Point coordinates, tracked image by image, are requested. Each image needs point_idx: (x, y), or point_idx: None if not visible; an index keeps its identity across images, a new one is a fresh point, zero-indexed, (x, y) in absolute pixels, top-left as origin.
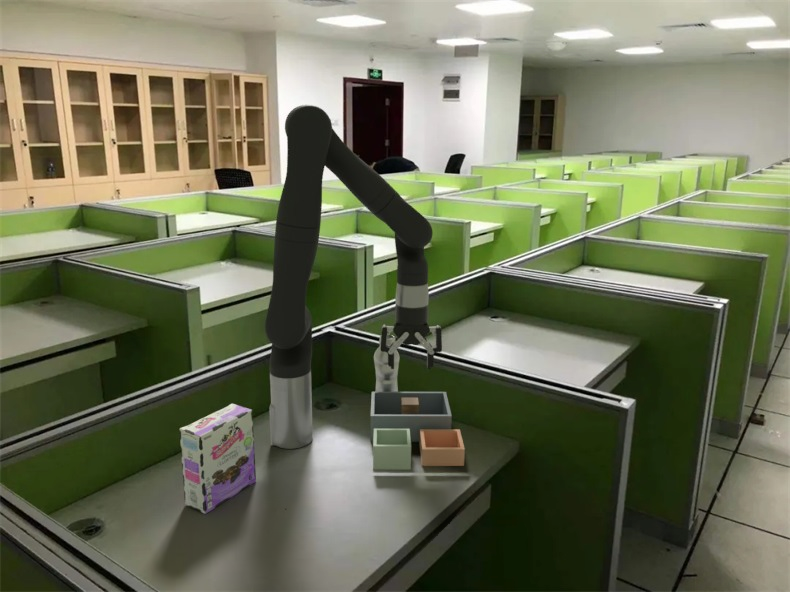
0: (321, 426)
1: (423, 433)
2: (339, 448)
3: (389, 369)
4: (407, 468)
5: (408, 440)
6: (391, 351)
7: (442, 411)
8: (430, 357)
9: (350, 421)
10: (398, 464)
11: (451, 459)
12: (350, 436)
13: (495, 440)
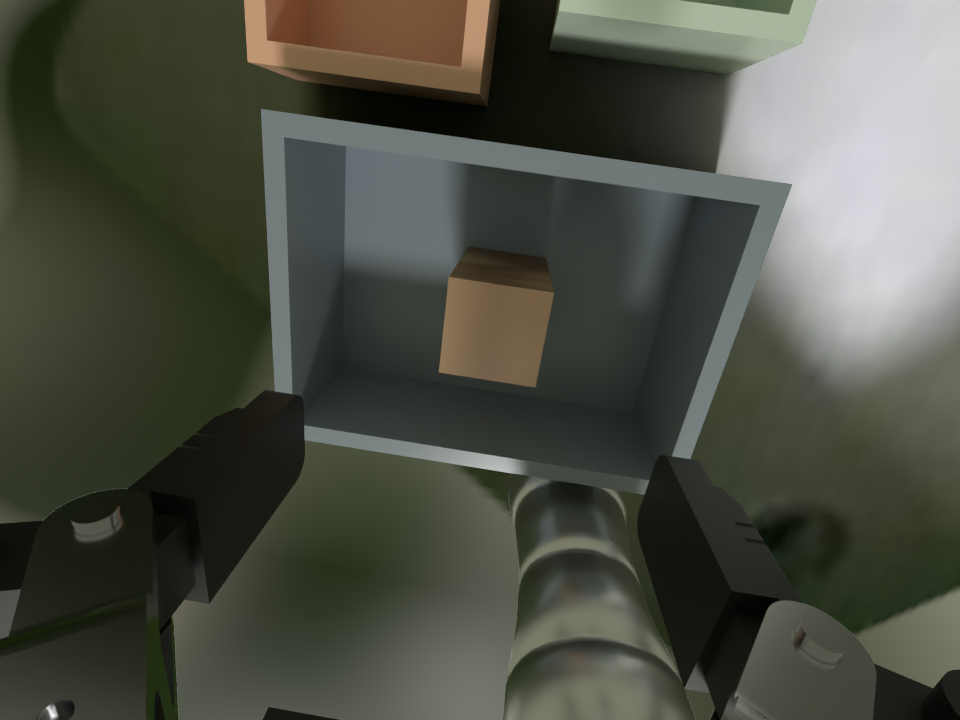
0: (886, 377)
1: (467, 30)
2: (884, 148)
3: (586, 607)
4: None
5: None
6: (821, 646)
7: (333, 377)
8: (180, 467)
9: (741, 400)
10: None
11: None
12: (787, 265)
13: (128, 131)
